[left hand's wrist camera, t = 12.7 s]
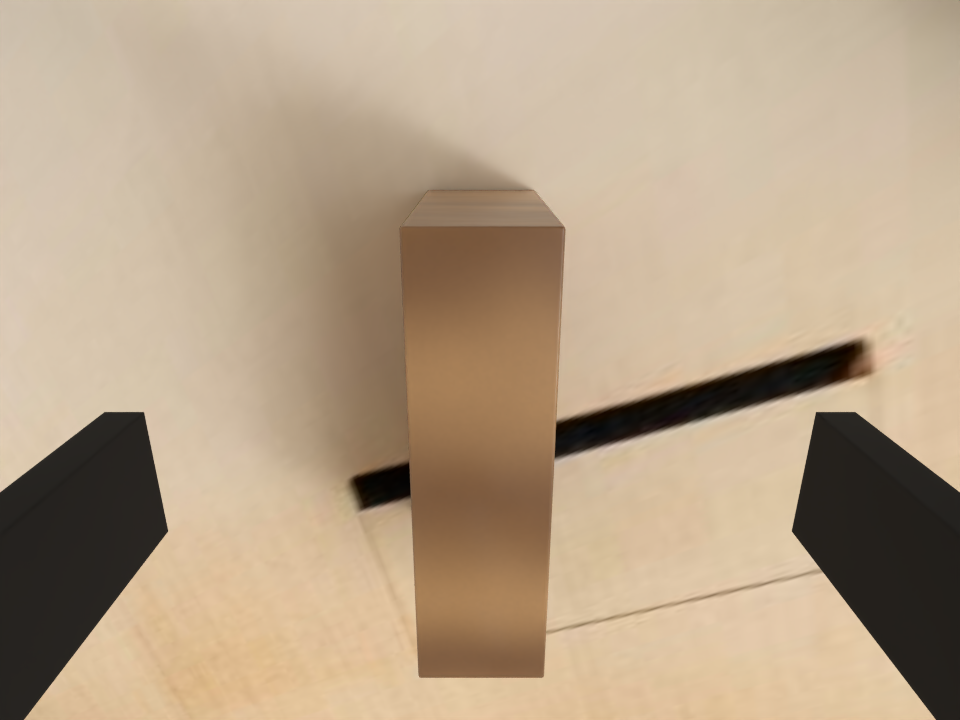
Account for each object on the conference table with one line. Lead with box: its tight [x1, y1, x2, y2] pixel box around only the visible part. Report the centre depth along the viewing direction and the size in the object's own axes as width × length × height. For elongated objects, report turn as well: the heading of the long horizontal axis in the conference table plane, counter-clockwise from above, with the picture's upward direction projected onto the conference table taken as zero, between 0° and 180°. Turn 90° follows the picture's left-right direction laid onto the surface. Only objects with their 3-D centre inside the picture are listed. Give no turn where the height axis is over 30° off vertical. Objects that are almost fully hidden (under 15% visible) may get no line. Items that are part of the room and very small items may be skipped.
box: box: [400, 190, 565, 678], centre depth 31 cm, size 20×6×13 cm, turn 0°
